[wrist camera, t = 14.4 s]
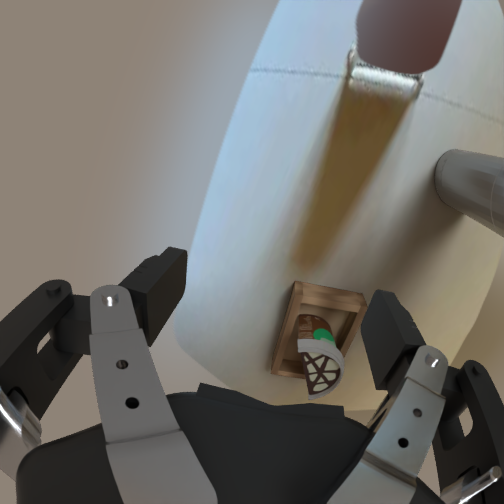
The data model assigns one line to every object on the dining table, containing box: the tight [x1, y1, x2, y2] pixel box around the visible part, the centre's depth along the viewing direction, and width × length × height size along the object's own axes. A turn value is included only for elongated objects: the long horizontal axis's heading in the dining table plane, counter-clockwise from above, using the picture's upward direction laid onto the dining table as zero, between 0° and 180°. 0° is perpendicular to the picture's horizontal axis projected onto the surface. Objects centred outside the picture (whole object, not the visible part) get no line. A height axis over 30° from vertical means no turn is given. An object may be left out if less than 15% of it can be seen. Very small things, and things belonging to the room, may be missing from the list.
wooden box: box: [271, 281, 368, 379], centre depth 44 cm, size 11×17×4 cm, turn 171°
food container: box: [298, 314, 344, 400], centre depth 40 cm, size 12×6×10 cm, turn 15°
